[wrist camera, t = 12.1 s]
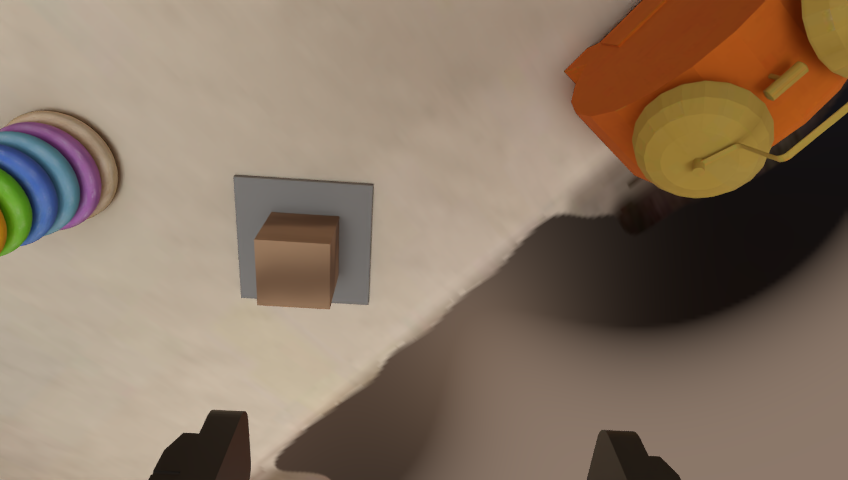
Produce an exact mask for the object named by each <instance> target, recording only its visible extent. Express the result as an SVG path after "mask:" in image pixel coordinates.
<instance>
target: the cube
mask: <svg viewBox="0 0 848 480" xmlns="http://www.w3.org/2000/svg"><path fill="white" fill-rule="evenodd" d="M254 249H255V269H256V288H257V305H264V306H282V307H299V308H317V309H330V306H331V302H332V298H333V295H334V291H335V287H336V283H337V279H338V272H339V216H327V215H312V214H296V213H280V212H271V213H270V215H269V217H268V218H267V220H266V221H265V223H264V225H263V226H262V228H261V229H260V231H259V232H258V234H257V236H256V237H255V239H254Z"/></svg>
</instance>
